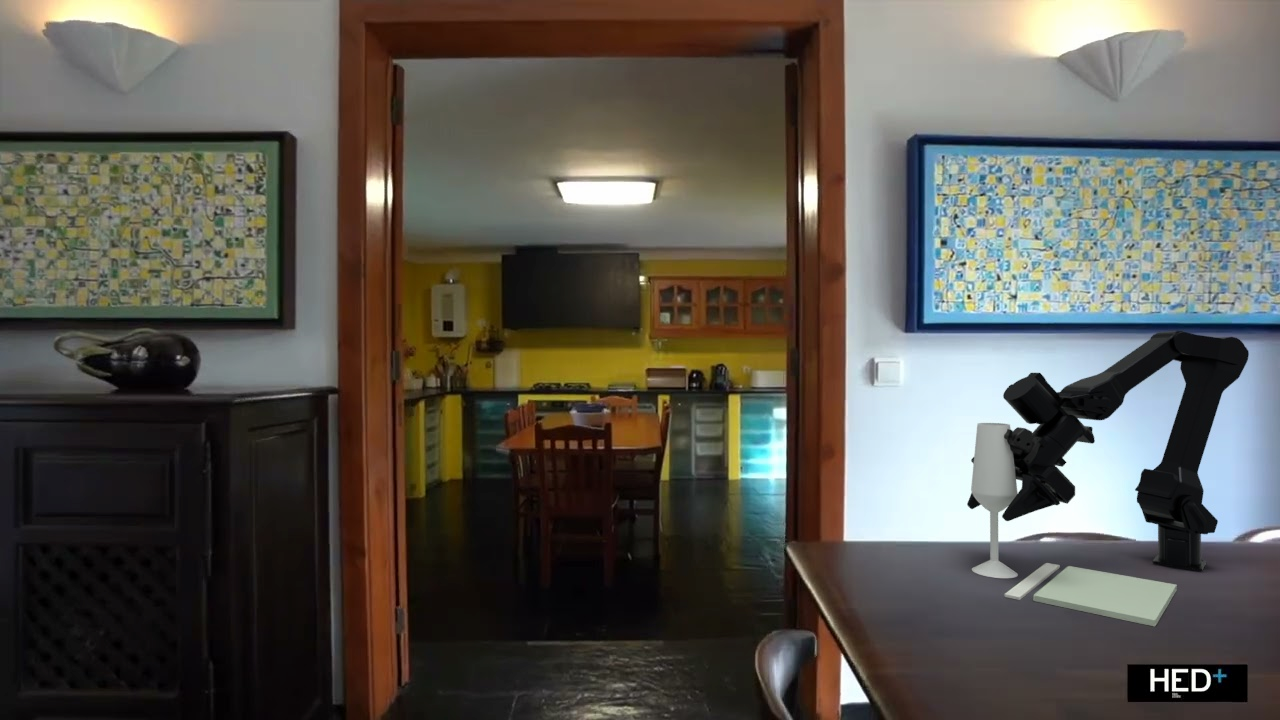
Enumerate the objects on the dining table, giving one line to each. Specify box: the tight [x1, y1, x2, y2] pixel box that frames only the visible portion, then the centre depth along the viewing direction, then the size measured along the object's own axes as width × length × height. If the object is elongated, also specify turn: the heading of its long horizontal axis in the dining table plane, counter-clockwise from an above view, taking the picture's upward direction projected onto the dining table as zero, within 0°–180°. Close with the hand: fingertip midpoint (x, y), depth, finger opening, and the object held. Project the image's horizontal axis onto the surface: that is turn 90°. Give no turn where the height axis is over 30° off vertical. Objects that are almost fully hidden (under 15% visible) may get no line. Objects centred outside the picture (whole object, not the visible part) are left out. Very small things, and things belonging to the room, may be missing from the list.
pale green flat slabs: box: [1003, 562, 1178, 628], centre depth 102 cm, size 22×18×1 cm
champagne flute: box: [970, 422, 1019, 579], centre depth 112 cm, size 7×7×24 cm
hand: (986, 512), depth 112 cm, fingers open, 9 cm apart
